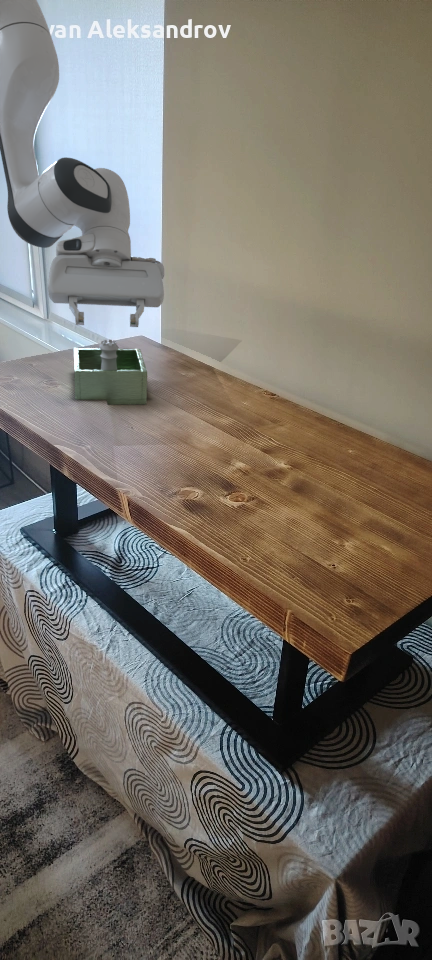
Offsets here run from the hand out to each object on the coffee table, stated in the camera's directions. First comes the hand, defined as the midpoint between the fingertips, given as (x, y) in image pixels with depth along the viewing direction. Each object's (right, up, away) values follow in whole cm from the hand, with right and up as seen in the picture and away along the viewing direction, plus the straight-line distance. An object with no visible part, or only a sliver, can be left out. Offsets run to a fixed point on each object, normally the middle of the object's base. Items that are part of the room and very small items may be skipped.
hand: (107, 324), depth 110 cm
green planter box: (+1, -12, -1) cm, 12 cm away
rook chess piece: (+1, -11, -1) cm, 11 cm away
